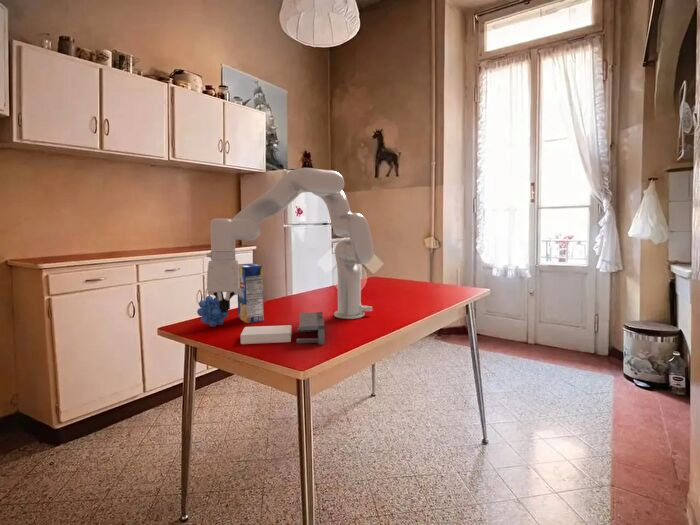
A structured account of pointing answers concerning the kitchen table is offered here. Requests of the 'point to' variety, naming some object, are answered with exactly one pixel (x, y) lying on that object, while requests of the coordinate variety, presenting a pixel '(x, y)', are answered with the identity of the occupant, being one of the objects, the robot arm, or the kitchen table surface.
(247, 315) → the beverage box
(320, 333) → the overhang bracket
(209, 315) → the grapes
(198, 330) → the kitchen table surface
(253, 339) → the white thin flat slab
